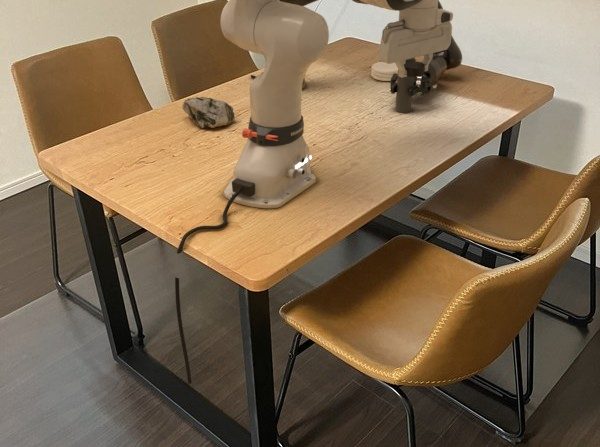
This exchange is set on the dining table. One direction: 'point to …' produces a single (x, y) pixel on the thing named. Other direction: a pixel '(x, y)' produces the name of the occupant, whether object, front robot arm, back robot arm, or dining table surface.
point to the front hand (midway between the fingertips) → (413, 73)
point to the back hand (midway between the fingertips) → (401, 92)
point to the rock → (208, 112)
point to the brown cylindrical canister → (404, 92)
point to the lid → (415, 68)
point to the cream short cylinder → (383, 71)
